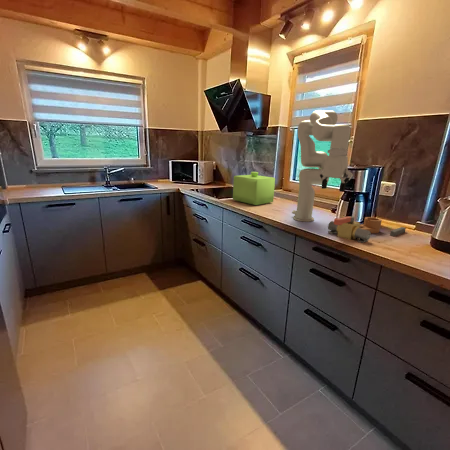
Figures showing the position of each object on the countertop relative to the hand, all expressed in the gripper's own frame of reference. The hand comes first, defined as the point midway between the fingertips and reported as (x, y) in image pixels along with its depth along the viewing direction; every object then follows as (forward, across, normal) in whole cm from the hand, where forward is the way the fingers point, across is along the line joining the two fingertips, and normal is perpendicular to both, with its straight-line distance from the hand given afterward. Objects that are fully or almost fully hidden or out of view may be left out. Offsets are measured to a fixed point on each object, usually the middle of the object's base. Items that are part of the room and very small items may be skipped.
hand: (332, 189), depth 132 cm
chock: (+24, +18, +40) cm, 50 cm away
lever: (+16, +6, +10) cm, 20 cm away
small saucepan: (+25, +6, +28) cm, 38 cm away
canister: (+25, -87, +31) cm, 95 cm away
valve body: (+24, +6, +10) cm, 27 cm away
